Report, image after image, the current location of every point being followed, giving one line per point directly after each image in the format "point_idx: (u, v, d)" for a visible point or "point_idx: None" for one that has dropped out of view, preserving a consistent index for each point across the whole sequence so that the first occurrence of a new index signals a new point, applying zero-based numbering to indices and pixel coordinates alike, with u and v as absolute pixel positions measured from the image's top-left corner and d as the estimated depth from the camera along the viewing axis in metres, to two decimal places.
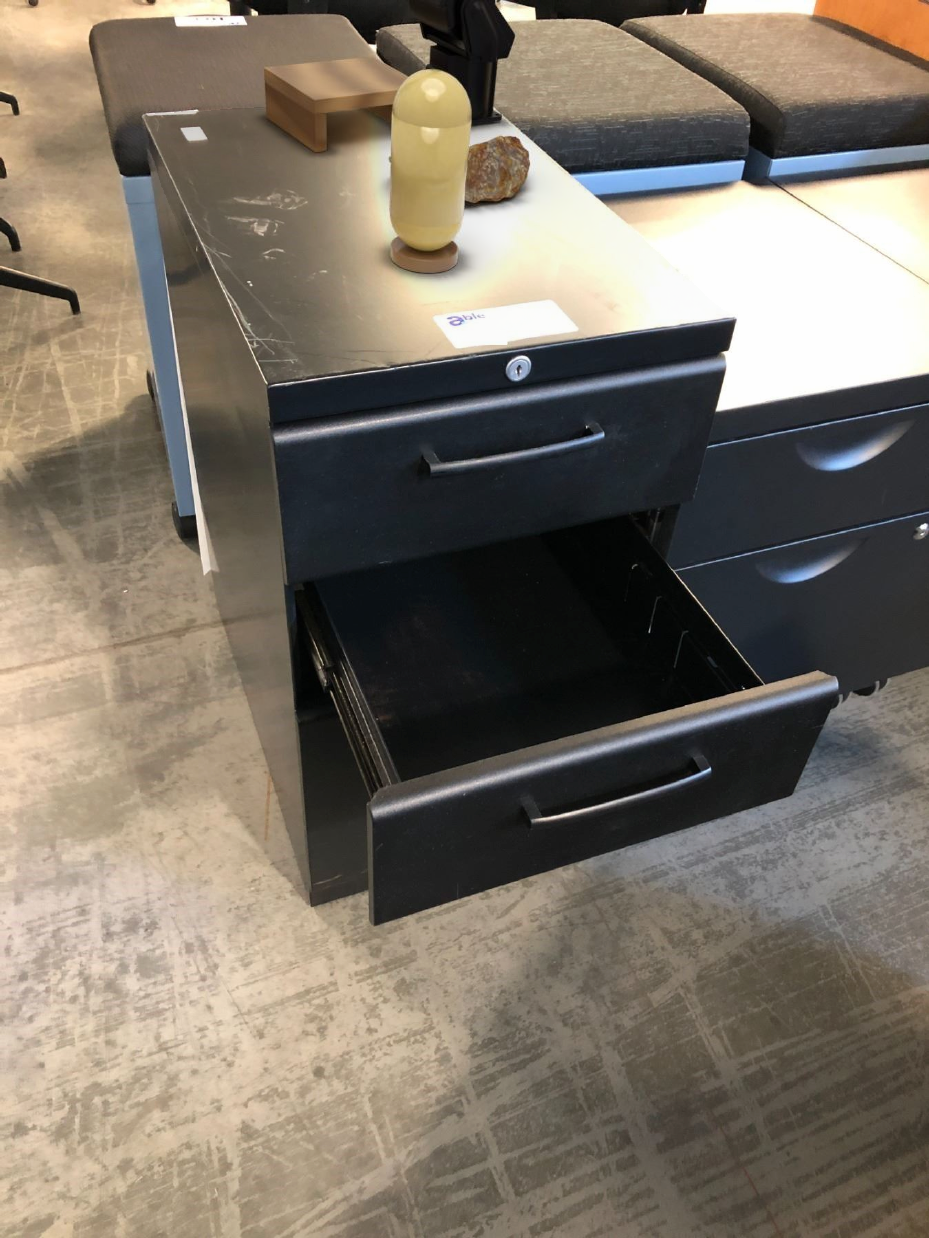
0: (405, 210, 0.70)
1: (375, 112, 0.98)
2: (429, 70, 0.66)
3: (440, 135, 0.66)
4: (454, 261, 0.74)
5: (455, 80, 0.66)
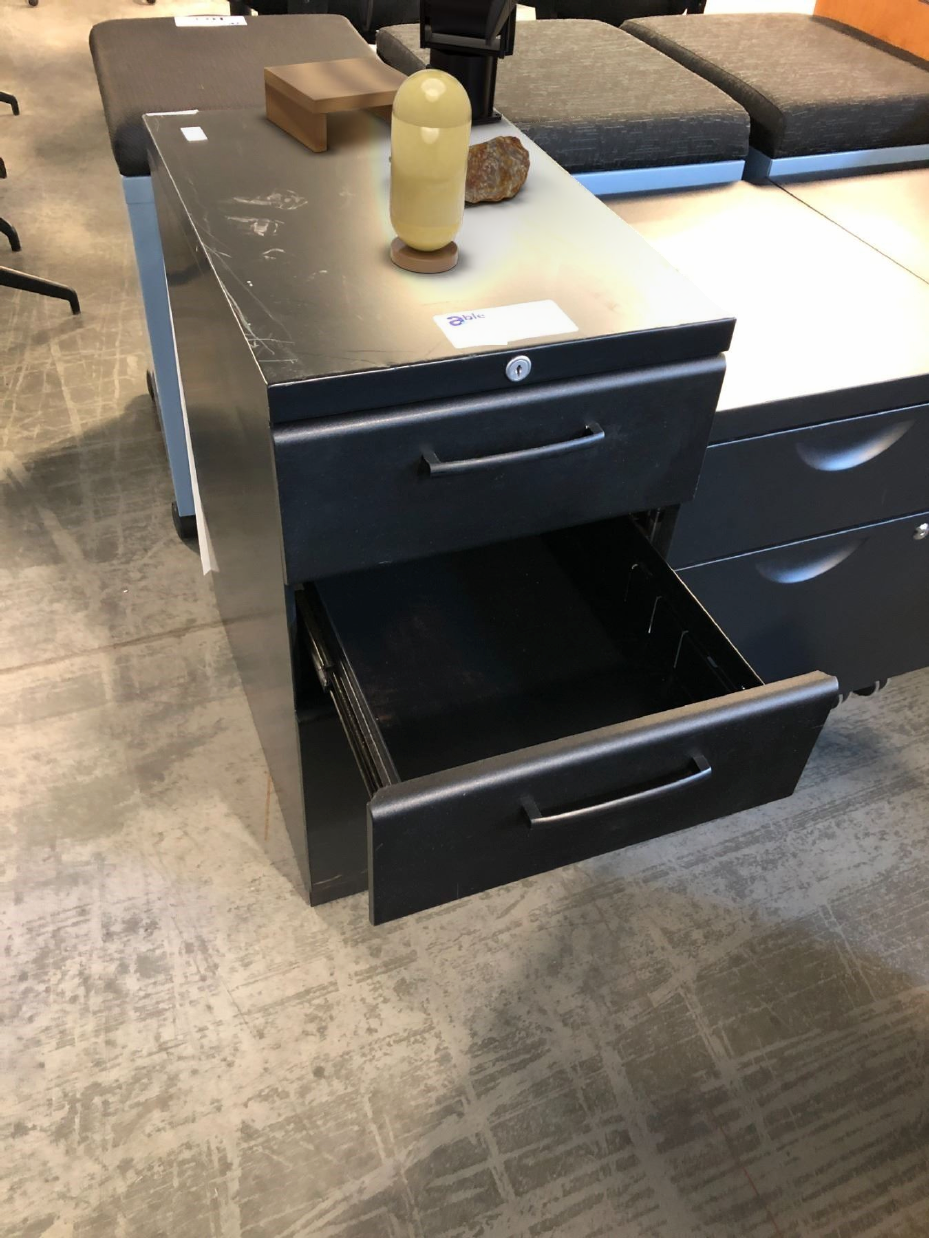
0: (405, 210, 0.70)
1: (375, 112, 0.98)
2: (429, 70, 0.66)
3: (440, 135, 0.66)
4: (454, 261, 0.74)
5: (455, 80, 0.66)
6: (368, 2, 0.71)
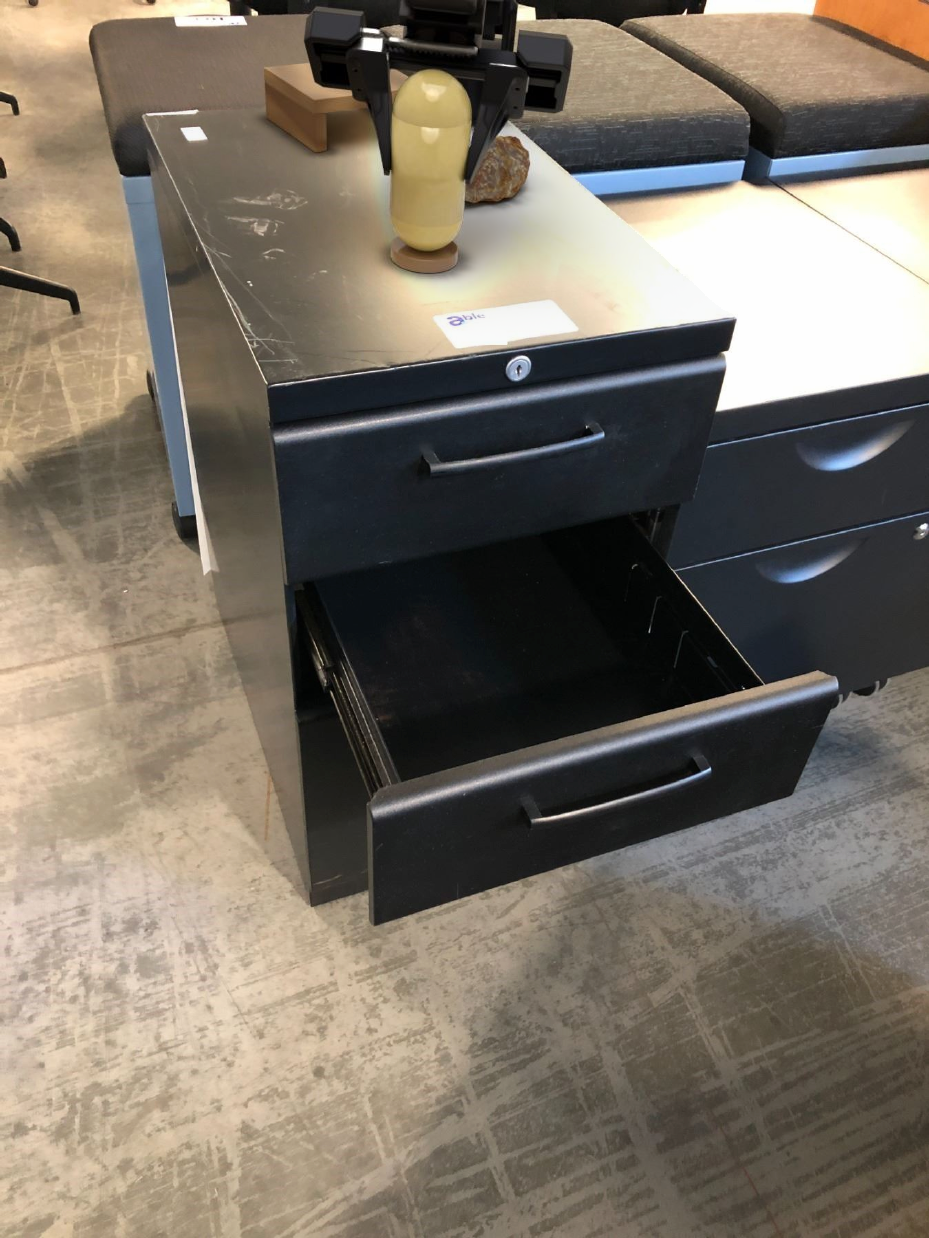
0: (405, 210, 0.70)
1: None
2: (429, 70, 0.66)
3: (440, 135, 0.66)
4: (454, 261, 0.74)
5: (455, 80, 0.66)
6: (390, 148, 0.69)
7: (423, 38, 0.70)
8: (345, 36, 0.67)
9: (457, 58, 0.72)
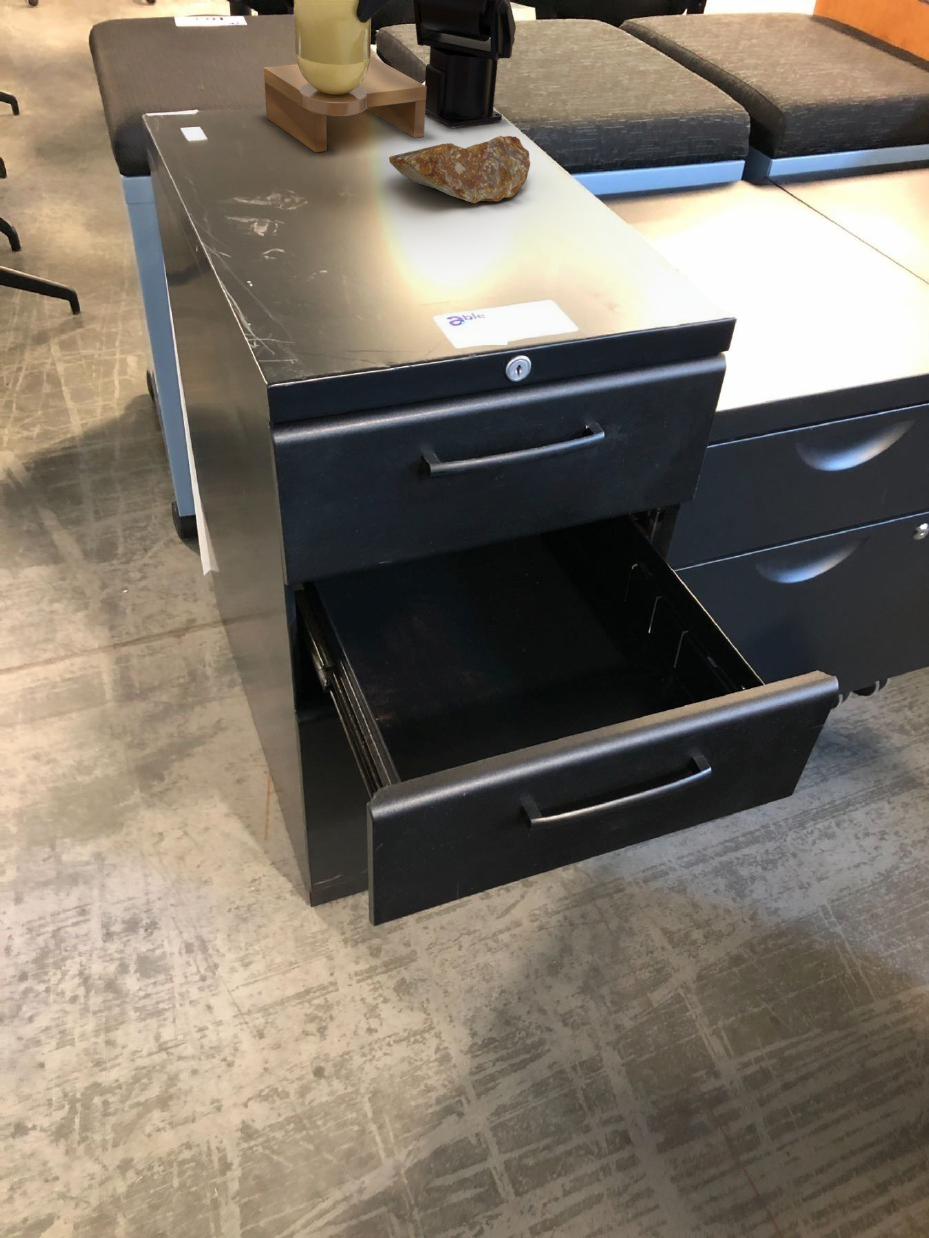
0: (301, 44, 0.71)
1: (375, 112, 0.98)
2: None
3: None
4: (356, 108, 0.74)
5: None
6: None
7: None
8: None
9: None
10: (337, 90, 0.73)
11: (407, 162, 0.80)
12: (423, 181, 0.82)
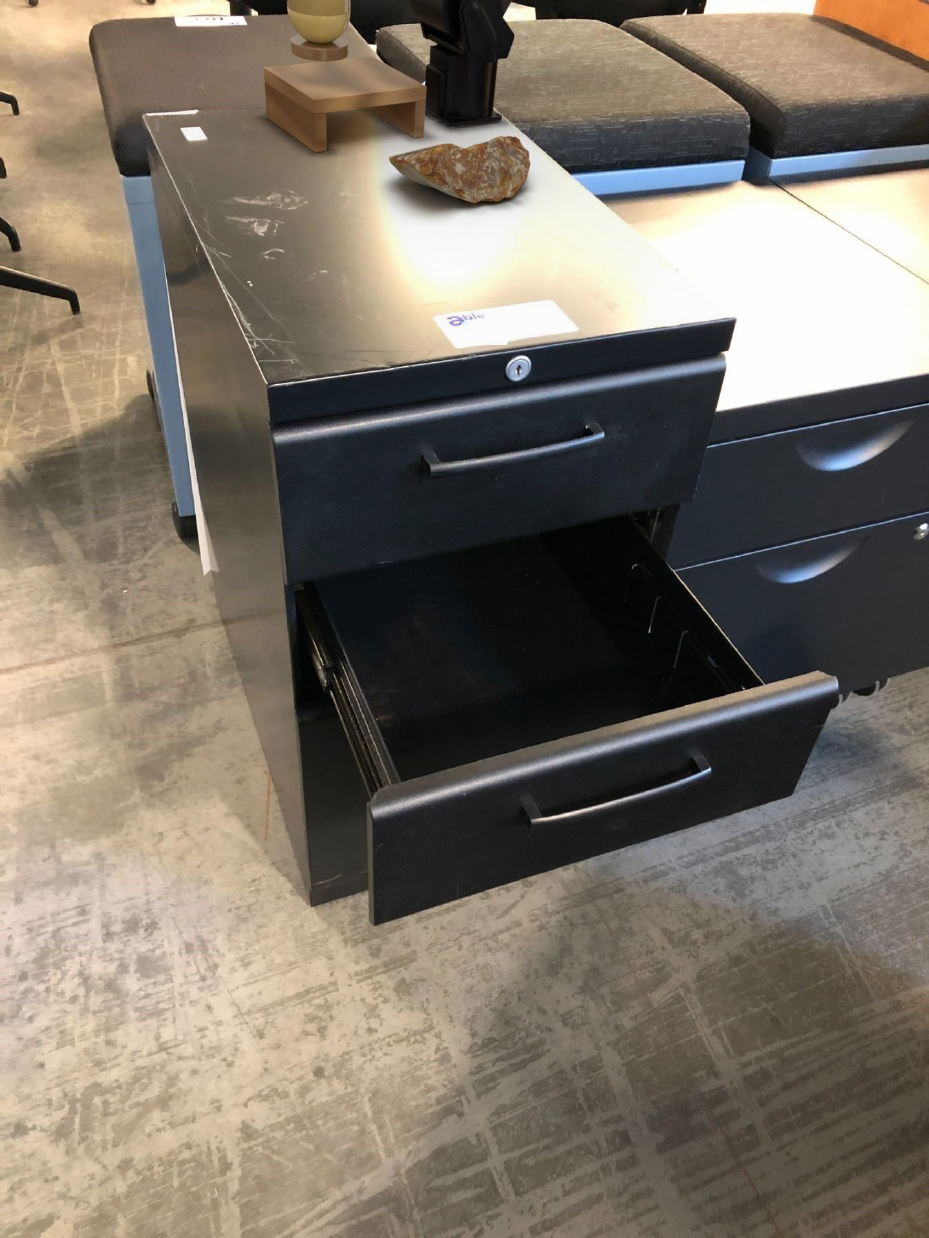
0: None
1: (375, 112, 0.98)
2: None
3: None
4: (323, 56, 0.87)
5: None
6: None
7: None
8: None
9: None
10: (309, 37, 0.86)
11: (407, 162, 0.80)
12: (423, 181, 0.82)
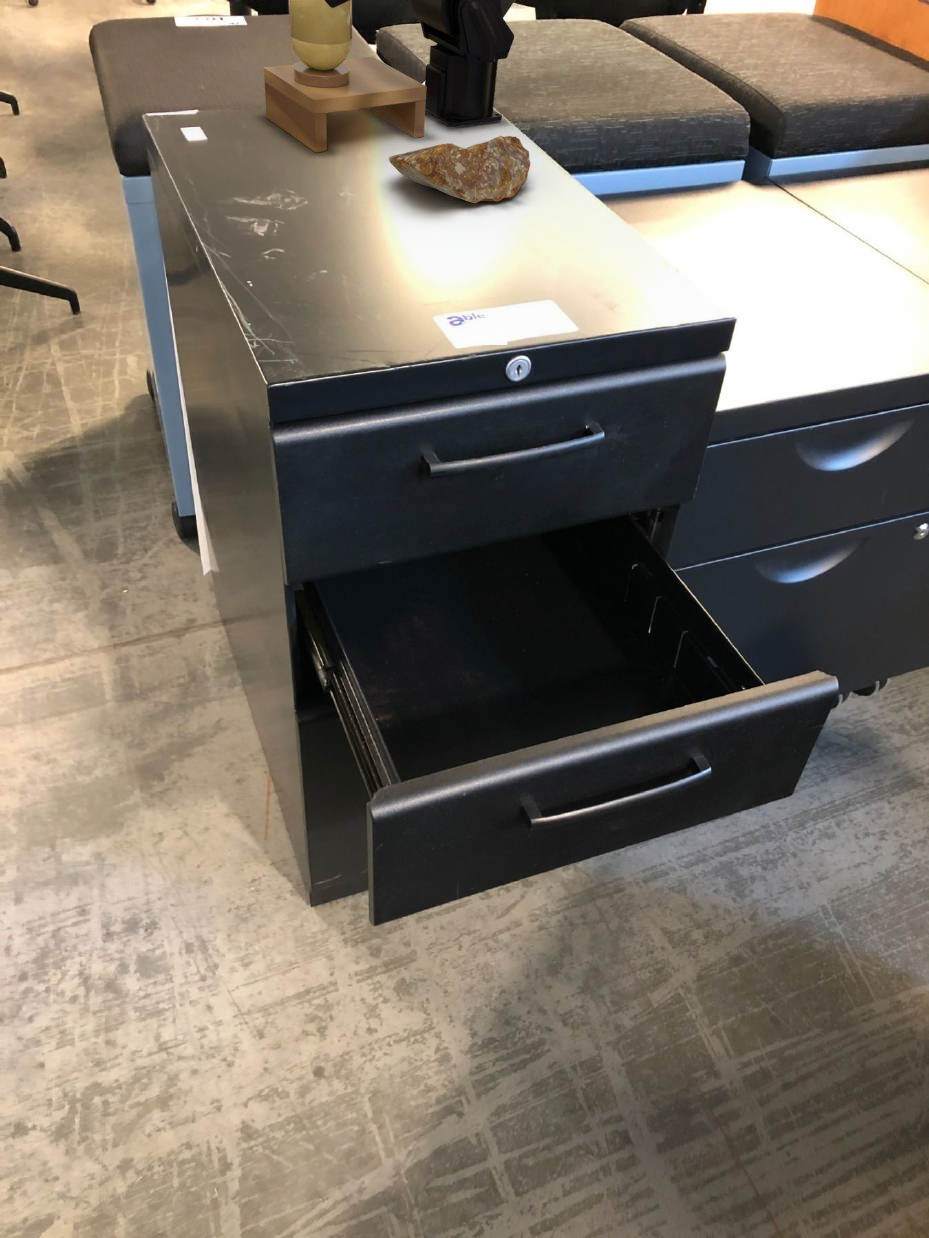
0: (289, 22, 0.87)
1: (375, 112, 0.98)
2: None
3: None
4: (324, 83, 0.88)
5: None
6: None
7: None
8: None
9: None
10: (311, 64, 0.88)
11: (407, 162, 0.80)
12: (423, 181, 0.82)
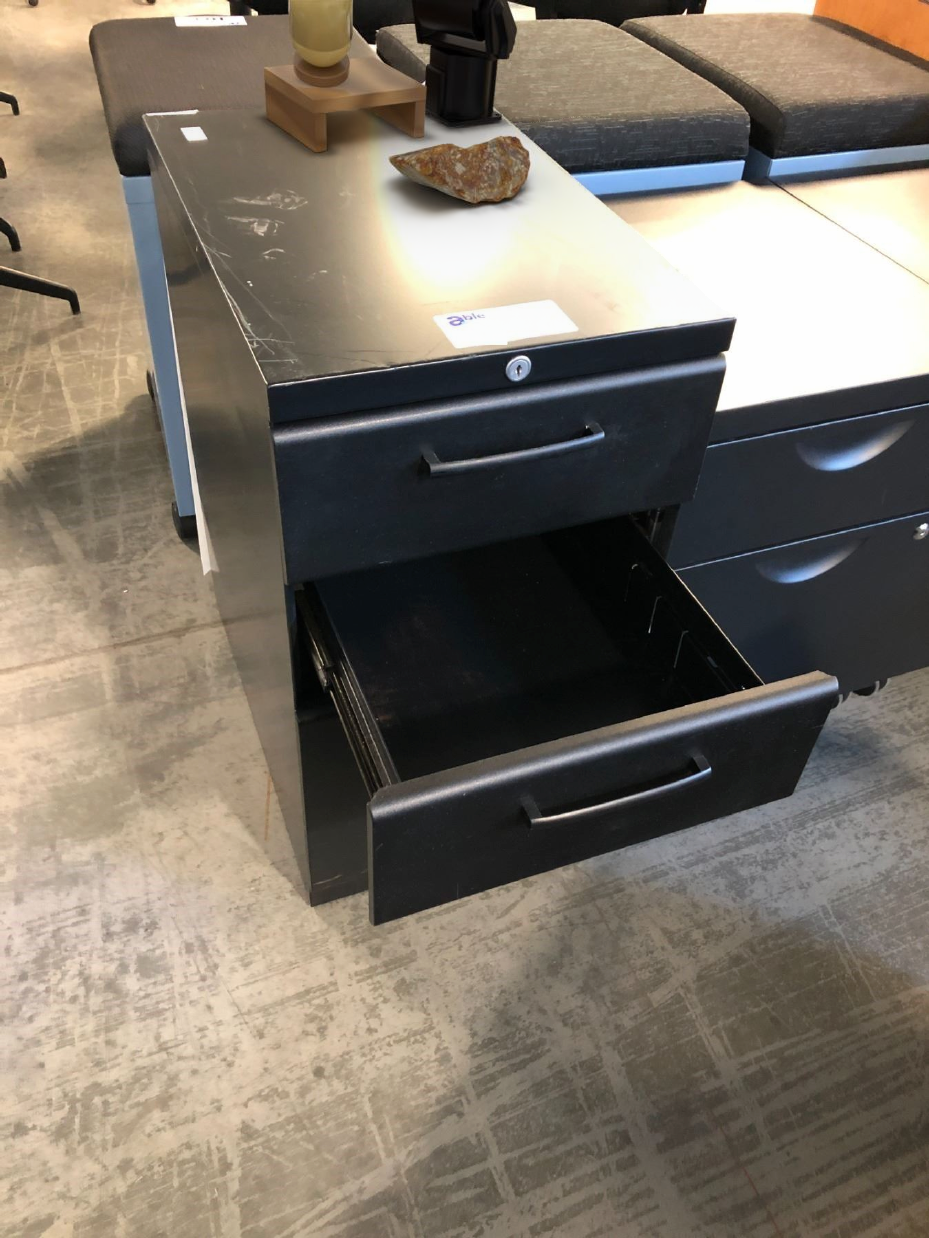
0: None
1: (375, 112, 0.98)
2: None
3: None
4: (324, 83, 0.88)
5: None
6: None
7: None
8: None
9: None
10: (311, 64, 0.88)
11: (407, 162, 0.80)
12: (423, 181, 0.82)
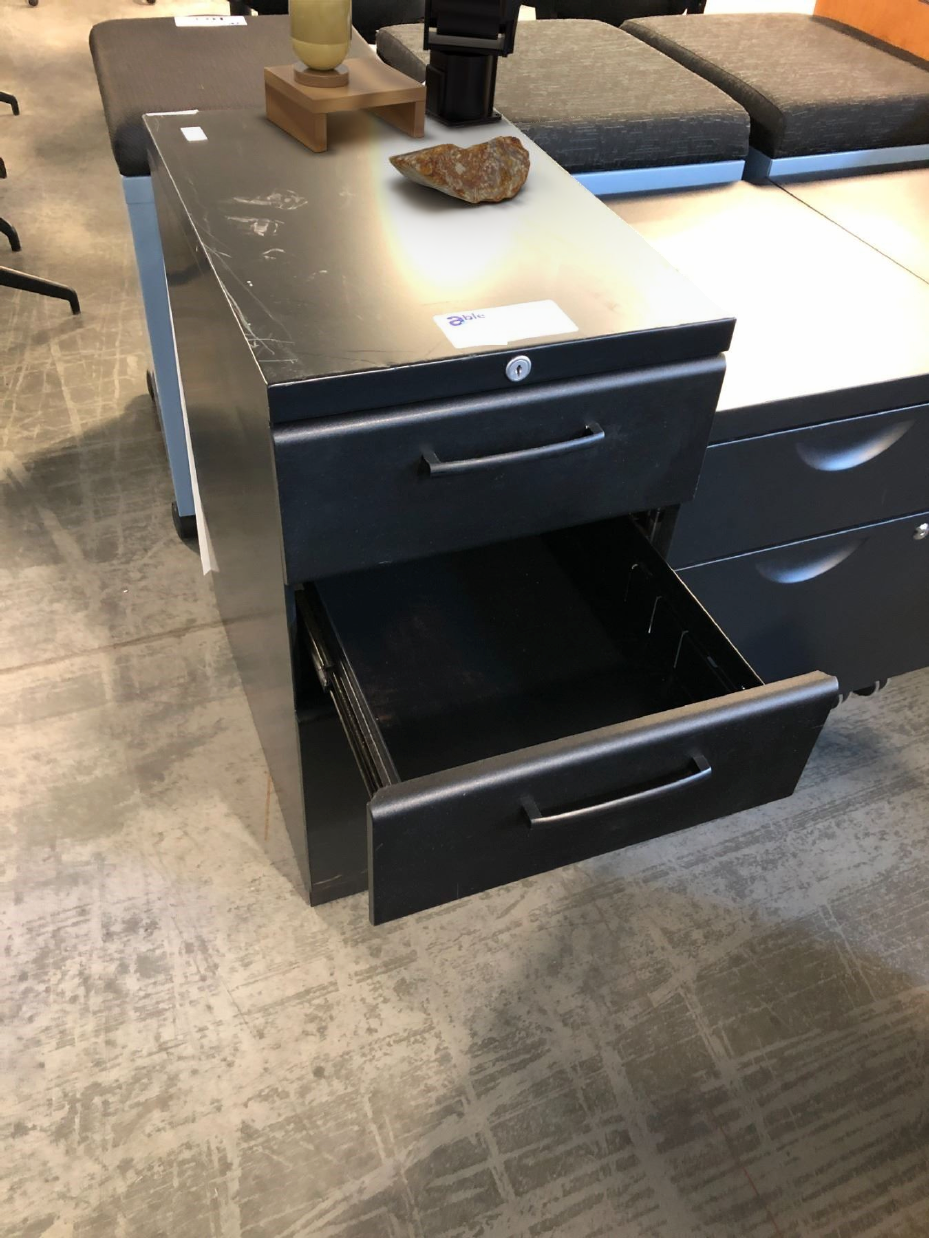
0: (289, 22, 0.87)
1: (375, 112, 0.98)
2: None
3: None
4: (325, 83, 0.89)
5: None
6: None
7: None
8: None
9: None
10: (311, 65, 0.88)
11: (407, 162, 0.80)
12: (423, 181, 0.82)
